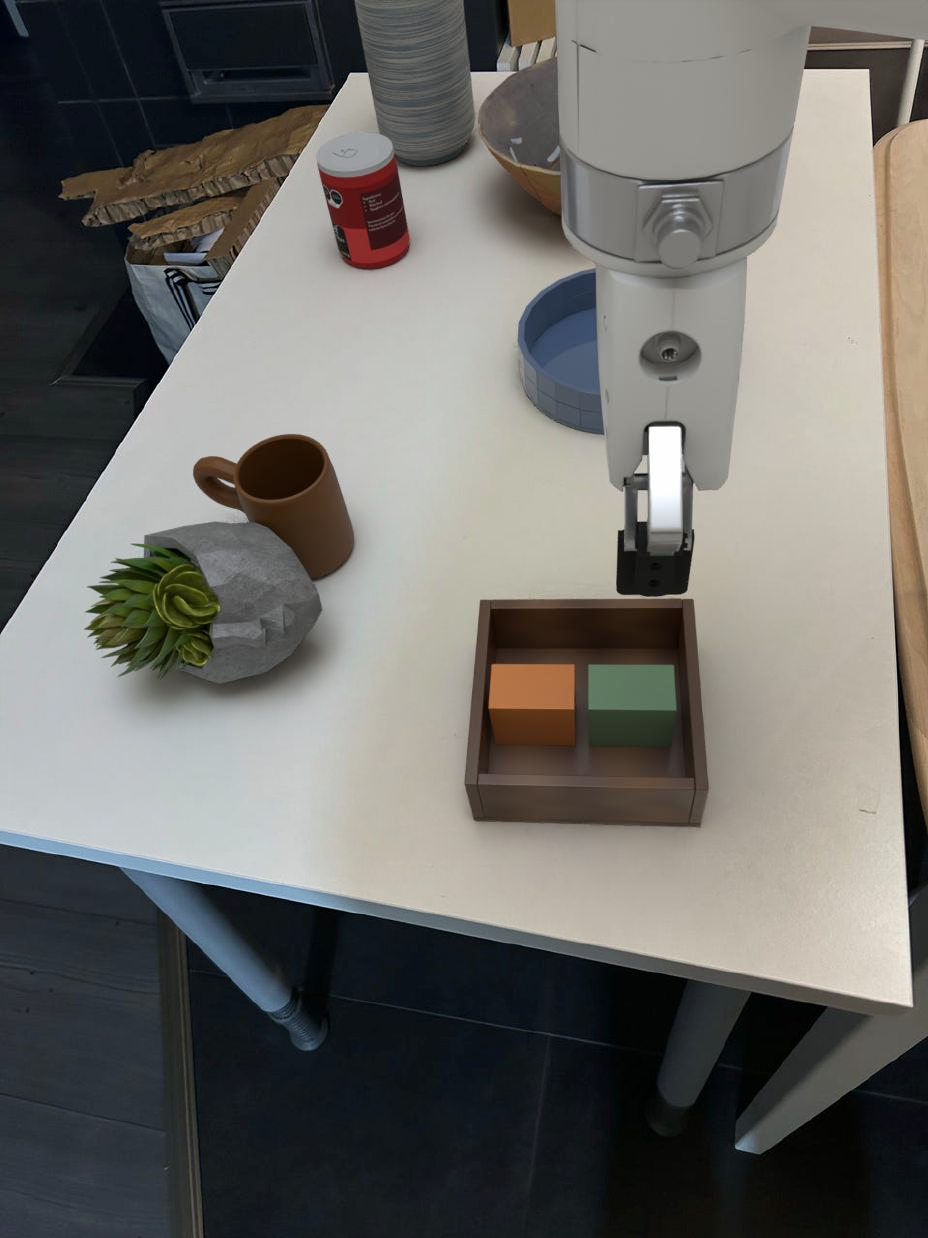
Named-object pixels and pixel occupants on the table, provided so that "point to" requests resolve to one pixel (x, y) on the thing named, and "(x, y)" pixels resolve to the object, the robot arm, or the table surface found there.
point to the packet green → (631, 705)
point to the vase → (419, 76)
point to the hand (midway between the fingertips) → (647, 511)
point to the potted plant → (207, 602)
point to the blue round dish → (563, 352)
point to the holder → (587, 775)
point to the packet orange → (533, 704)
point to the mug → (286, 497)
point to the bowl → (527, 130)
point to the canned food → (364, 199)
